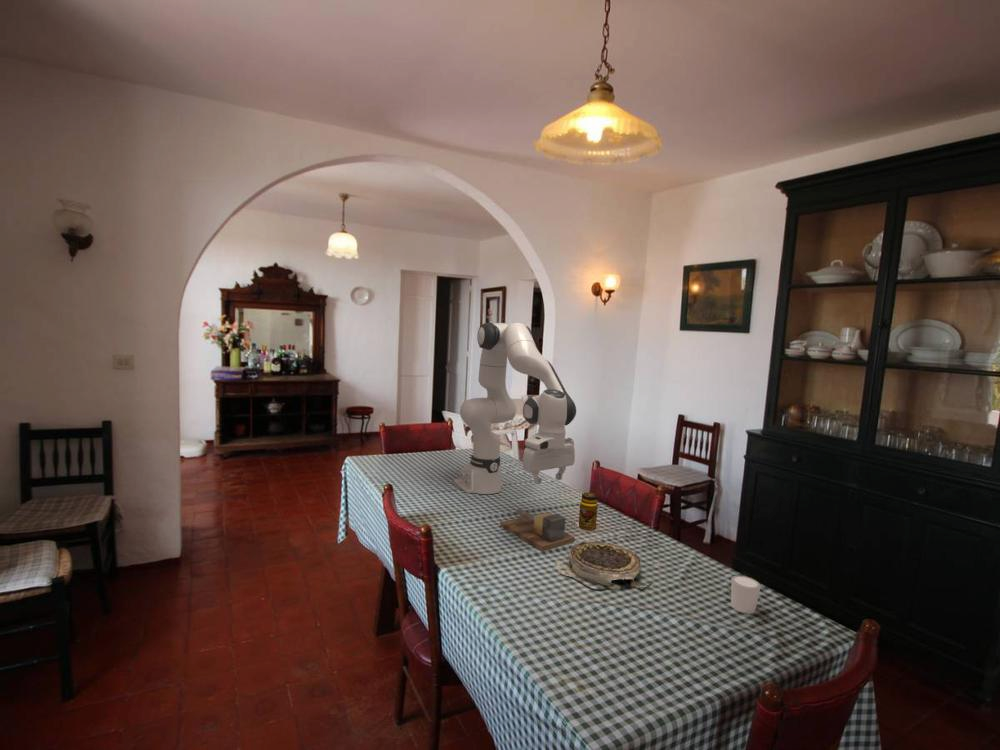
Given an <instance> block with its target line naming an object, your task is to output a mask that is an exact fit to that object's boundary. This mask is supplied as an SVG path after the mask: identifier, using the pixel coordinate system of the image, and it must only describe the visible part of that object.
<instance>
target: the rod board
mask: <svg viewBox="0 0 1000 750" xmlns="http://www.w3.org/2000/svg"><path fill="white" fill-rule="evenodd" d="M515 512H516V515H519V516H520V517H516V518H513V519H512V518H511V519H508V520H504V521H500V524H499V526H501V527H500V528H502V527H503V528H505V529H506V530H505V529H504V530H505V531H507V530H508V531H507V532H509V533H510V532H511V533H510V534H512V533H513V535H514V534H515V535H516V537H517V536H518V537H517V538H519V539H521V540H523V541H524V542H526V543H528V544H529V545H531V546H533V547H534V548H536V549H538V550H539V551H541V552H546V551H548V550H551V549H555V548H559V547H561V546H565V545H568V544H572V543H576V542H575V538H576V537H575V536H574V535H571V534H569V533H567V532H566V531H565V529H566V526H565V525H566V517H564V516H562V515H560V514H558V513H554V514H551V515H550V516H546V517H543V527H542V536H541V535H539V534H537V533H535V532H534V519H535V515H533V514H531V513H529V512H528V511H525V510H523V509H521V508H517V509H516V511H515ZM503 528H502V529H503ZM515 535H514V536H515Z"/></svg>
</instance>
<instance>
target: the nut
mask: <svg viewBox="0 0 1000 750" xmlns="http://www.w3.org/2000/svg"><path fill="white" fill-rule="evenodd" d="M550 515H552V514H551V513H550V512H545V513H539V514H535V515H534V516H535V519H534V532H535V533H537V534H539V535H541V536H542V527H543V517H546V516H550Z"/></svg>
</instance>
